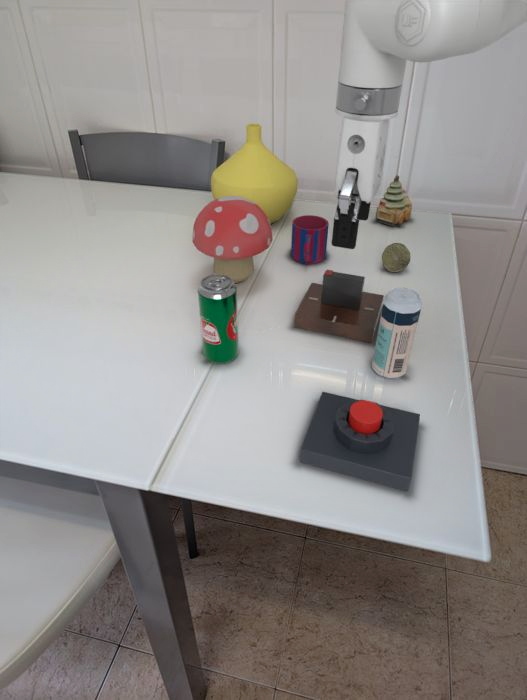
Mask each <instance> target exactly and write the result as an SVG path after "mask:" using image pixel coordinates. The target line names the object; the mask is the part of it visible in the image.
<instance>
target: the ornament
mask: <svg viewBox="0 0 527 700" xmlns="http://www.w3.org/2000/svg"><path fill="white" fill-rule="evenodd" d="M402 186H403V184H402V182H401V181H400V175H397V174H396V175H395V177H394V178H393V181H392V182H390V183H389V186H388V187H387V188H386V192H384V194H383V197H381V198H380V201H379V204H378V206H377V207H376V213H375V219H376V221H377V222H378V223H381V224H383V225H387V226H390V227H394V226H401V225H402V224H403V223H404V222H407V221H409V219H410V218H411V215H412V209H413V204H412V201H411V199H410V197H409V195H408V193H407V190H406V189H404V188H403V187H402Z"/></svg>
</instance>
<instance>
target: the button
mask: <svg viewBox="0 0 527 700" xmlns="http://www.w3.org/2000/svg"><path fill="white" fill-rule="evenodd" d="M361 400H362V401H357V402H355V403H354V404H353V405H352V406H351V408H350V413H349V419H348V422H349V425H350V427H351V428H352V429H353V430H355V431H356V432H359V433H363V434H372V433H375V432H377V431H378V430H379V428H380V426H381V421H382V416H383V412H382V409H381V408H380V407H379V406H378V405H377V404H375V403H376V402H375V403H374V401H371V400H367V399H361Z"/></svg>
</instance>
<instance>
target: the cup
mask: <svg viewBox="0 0 527 700" xmlns="http://www.w3.org/2000/svg"><path fill="white" fill-rule="evenodd" d="M329 225H330V223H329V221H328V220H327V219H326V218H324V217H322V216H319V215H311V214H307V215H305V214H304V215H300V216H297V217H295V218H294V219H292V221H291V243H290V244H291V246H290V257H291V258H292V260H294V261H295V262H297V263H301V264H306V265H314V264H318V263H321V262H323V261H324V260H325V259H326V257H327V248H328V247H327V246H328V236H329Z"/></svg>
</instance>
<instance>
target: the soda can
mask: <svg viewBox="0 0 527 700" xmlns="http://www.w3.org/2000/svg"><path fill="white" fill-rule="evenodd" d="M197 298H198V309H199V318H200V321H199V322H200V331H201V342H202V352H203V353H202V354H203V356H204V357H205V359H207V360H208V361H209V362H211V363H213V364H216V365H217V364H218V365H222V364H223V365H224V364H228V363H230V362H232V361H233V360H235V358H237V356H238V355H239V353H240V351H239V350H240V346H239V344H240V343H239V320H238V319H239V318H238V317H239V316H238V314H239V313H238V291H237V286H236V284H235V283H234V282H233V280H232V278H230V277H229V276H226V275H221V274H215V273H214V274H210V275H207V276H205V277H203V278H202V279H201V280H200V281H199V286H198V287H197Z"/></svg>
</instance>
